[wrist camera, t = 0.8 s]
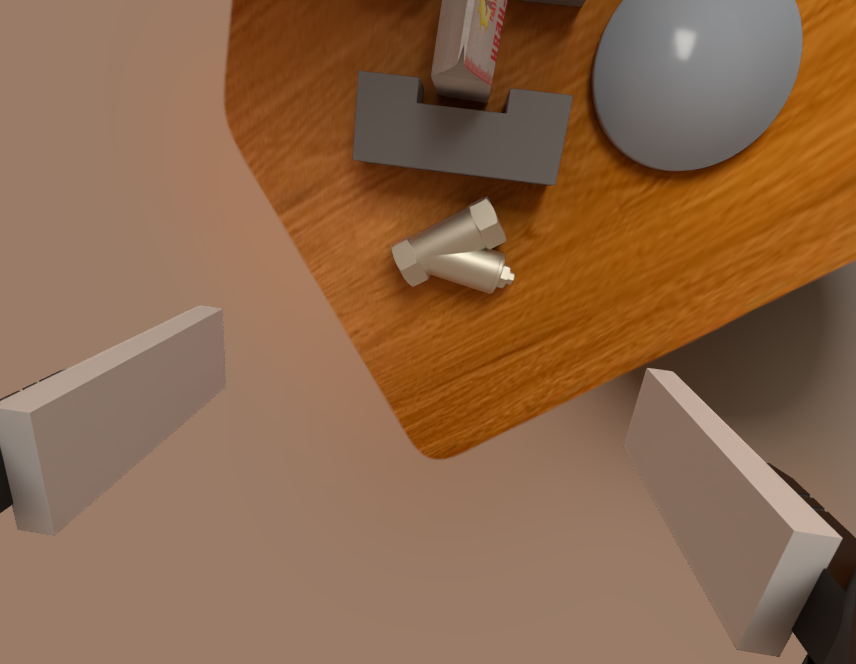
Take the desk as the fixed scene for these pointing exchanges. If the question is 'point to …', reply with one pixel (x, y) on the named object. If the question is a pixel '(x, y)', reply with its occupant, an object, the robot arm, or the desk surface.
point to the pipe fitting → (457, 250)
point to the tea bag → (467, 48)
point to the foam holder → (461, 130)
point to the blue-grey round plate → (693, 77)
